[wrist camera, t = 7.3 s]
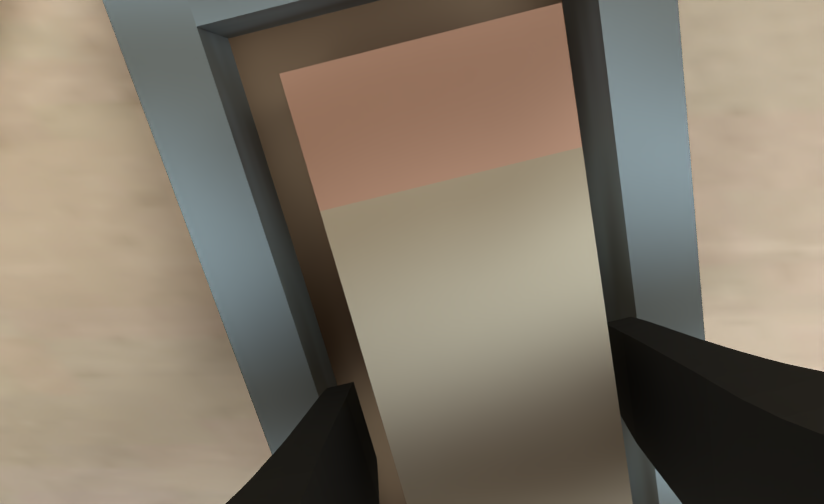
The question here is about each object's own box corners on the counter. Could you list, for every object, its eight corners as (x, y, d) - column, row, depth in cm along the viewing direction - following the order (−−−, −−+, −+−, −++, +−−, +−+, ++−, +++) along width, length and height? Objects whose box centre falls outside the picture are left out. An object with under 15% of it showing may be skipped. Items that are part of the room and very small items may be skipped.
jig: (699, 560, 18) (755, 643, 15) (354, 637, 18) (348, 732, 15) (630, -158, 12) (702, -235, 9) (114, -26, 12) (34, -63, 9)
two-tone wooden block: (578, 521, 16) (661, 703, 11) (451, 550, 16) (478, 744, 11) (491, 41, 12) (561, 2, 7) (322, 83, 12) (279, 74, 7)
